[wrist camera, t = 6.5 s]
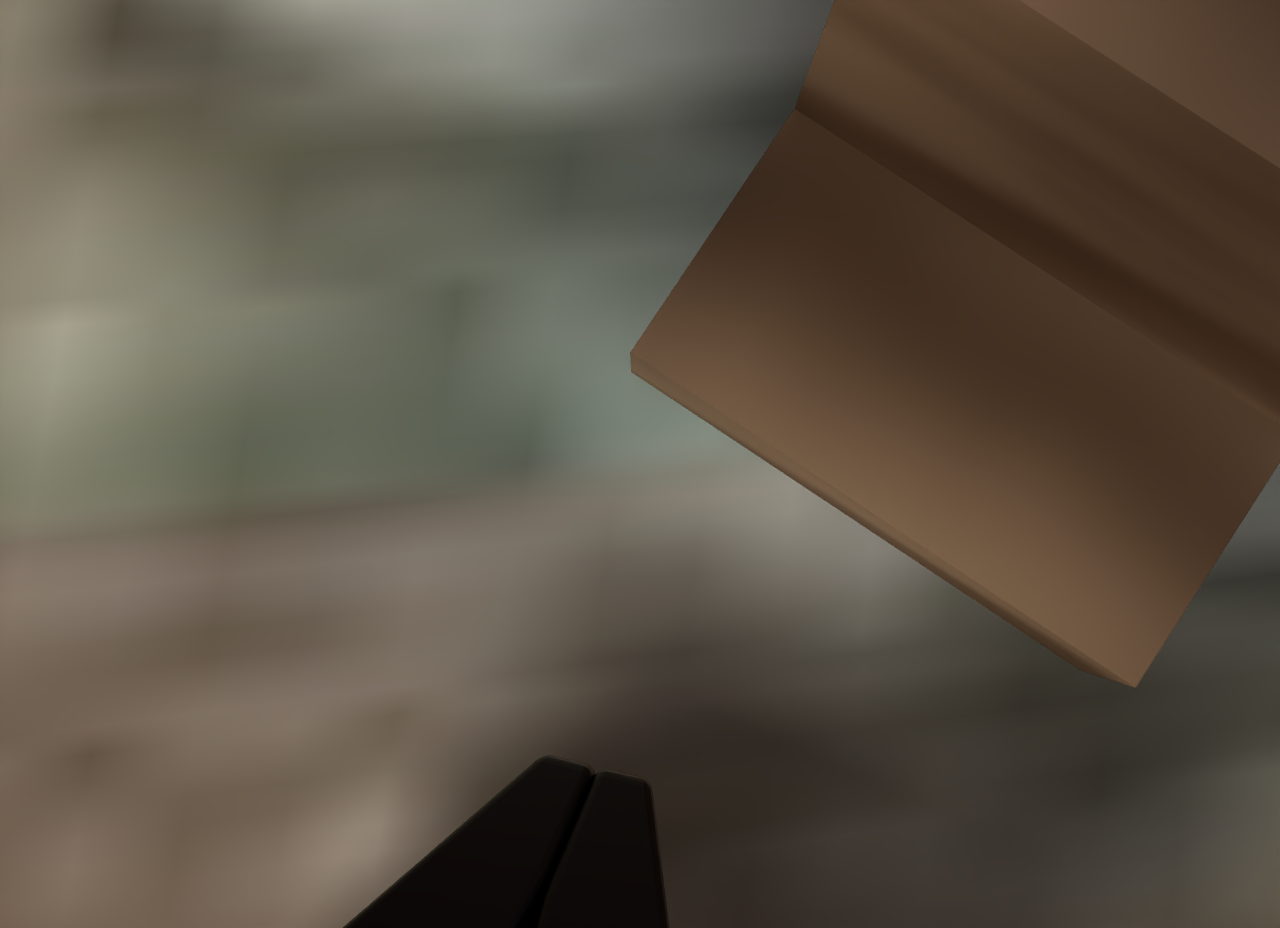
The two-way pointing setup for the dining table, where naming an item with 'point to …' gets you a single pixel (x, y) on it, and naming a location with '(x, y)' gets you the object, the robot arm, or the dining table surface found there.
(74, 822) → the dining table surface
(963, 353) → the brown stepped block
